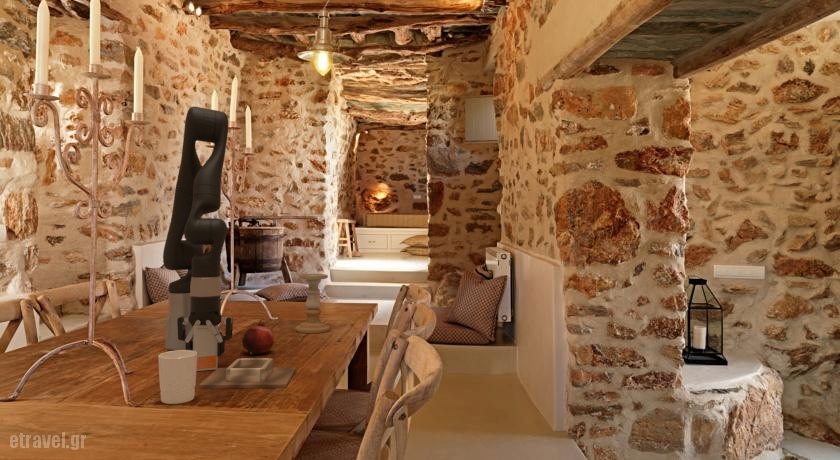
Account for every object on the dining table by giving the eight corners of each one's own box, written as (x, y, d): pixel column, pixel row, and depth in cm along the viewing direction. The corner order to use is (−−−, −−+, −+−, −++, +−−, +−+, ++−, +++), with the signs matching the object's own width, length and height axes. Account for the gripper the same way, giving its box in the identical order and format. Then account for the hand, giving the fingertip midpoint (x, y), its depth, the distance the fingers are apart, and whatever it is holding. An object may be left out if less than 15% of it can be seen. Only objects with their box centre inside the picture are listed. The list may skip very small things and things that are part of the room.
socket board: (198, 388, 132) (198, 372, 132) (218, 370, 148) (218, 356, 148) (285, 387, 133) (285, 371, 133) (295, 370, 149) (295, 355, 149)
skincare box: (193, 372, 146) (194, 326, 146) (192, 368, 150) (192, 323, 150) (218, 369, 149) (218, 324, 149) (216, 365, 153) (216, 321, 153)
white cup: (172, 407, 118) (173, 360, 118) (150, 401, 122) (150, 355, 122) (204, 398, 125) (205, 353, 125) (182, 392, 129) (182, 348, 129)
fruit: (240, 357, 162) (240, 323, 162) (243, 350, 172) (243, 317, 172) (273, 356, 164) (273, 322, 164) (274, 349, 174) (274, 317, 174)
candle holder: (326, 334, 199) (327, 276, 198) (291, 333, 199) (292, 276, 199) (332, 327, 211) (333, 273, 211) (299, 327, 211) (300, 273, 211)
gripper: (172, 295, 145) (172, 359, 145) (229, 295, 146) (229, 359, 146) (182, 291, 152) (182, 353, 153) (236, 292, 153) (236, 352, 154)
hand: (205, 355), depth 149 cm, fingers closed on skincare box, 7 cm apart
